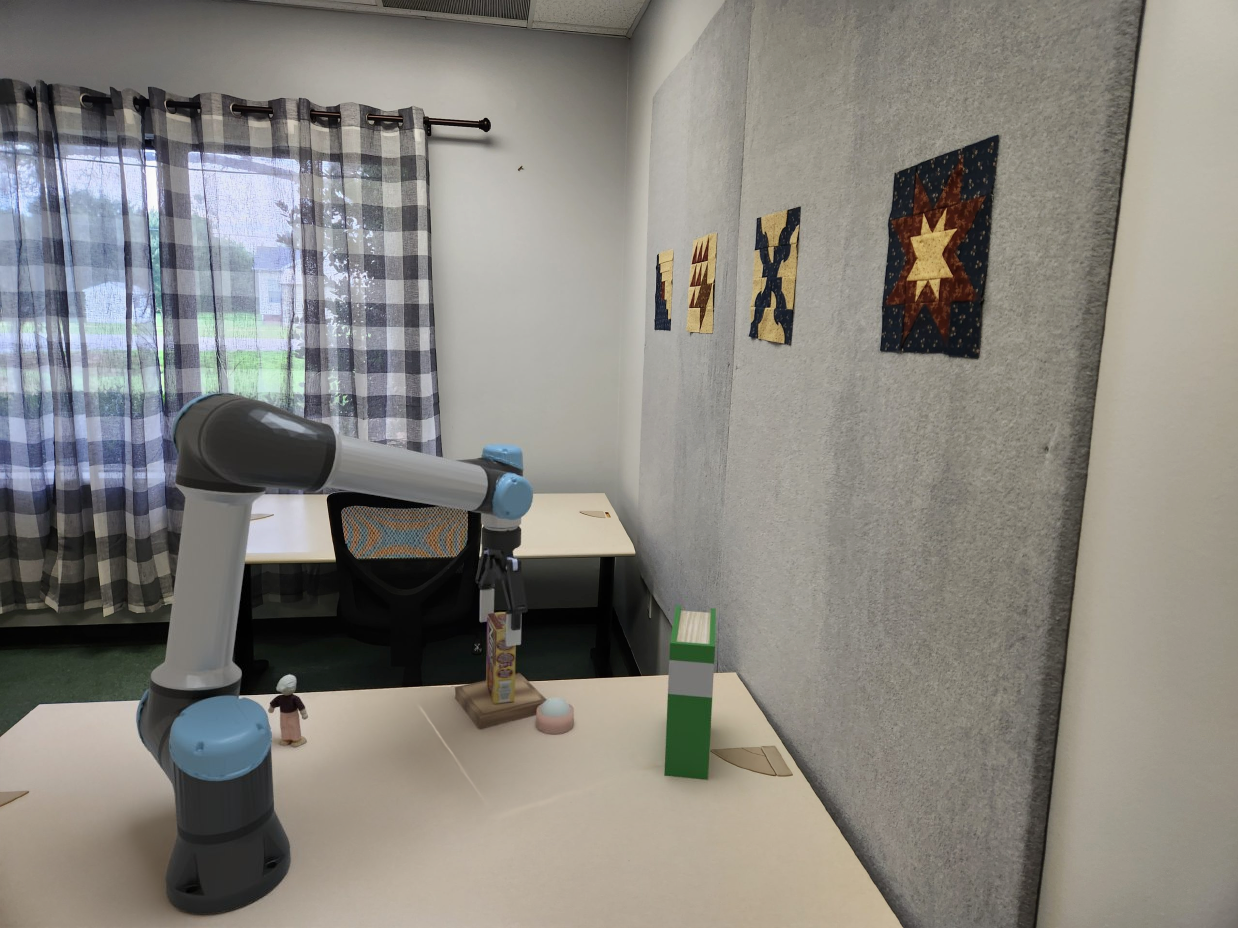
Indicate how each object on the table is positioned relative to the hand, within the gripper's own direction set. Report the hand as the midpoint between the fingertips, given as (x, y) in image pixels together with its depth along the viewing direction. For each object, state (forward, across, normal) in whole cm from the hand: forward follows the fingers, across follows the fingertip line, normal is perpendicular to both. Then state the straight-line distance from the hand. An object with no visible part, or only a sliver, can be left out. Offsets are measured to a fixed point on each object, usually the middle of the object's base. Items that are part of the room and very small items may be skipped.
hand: (499, 632), depth 149 cm
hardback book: (+16, -30, -25) cm, 42 cm away
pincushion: (+15, -12, -7) cm, 20 cm away
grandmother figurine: (+17, +6, +37) cm, 41 cm away
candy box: (+13, 0, -1) cm, 13 cm away
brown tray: (+16, 0, -1) cm, 16 cm away
